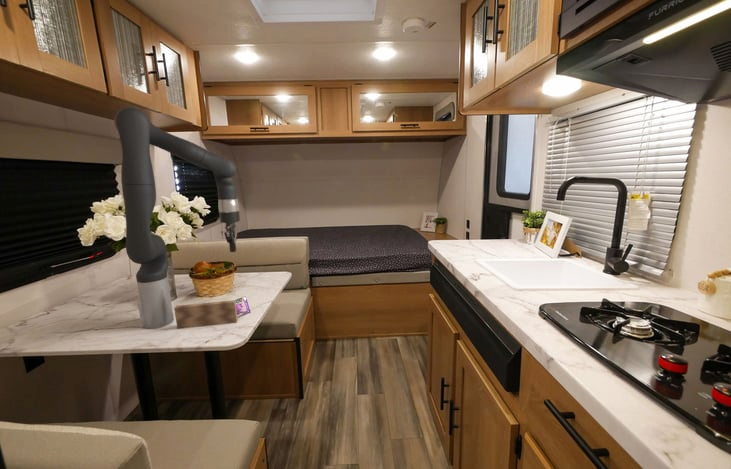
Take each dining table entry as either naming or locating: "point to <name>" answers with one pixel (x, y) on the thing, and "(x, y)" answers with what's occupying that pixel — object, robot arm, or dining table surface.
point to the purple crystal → (240, 307)
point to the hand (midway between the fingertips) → (233, 251)
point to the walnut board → (206, 314)
